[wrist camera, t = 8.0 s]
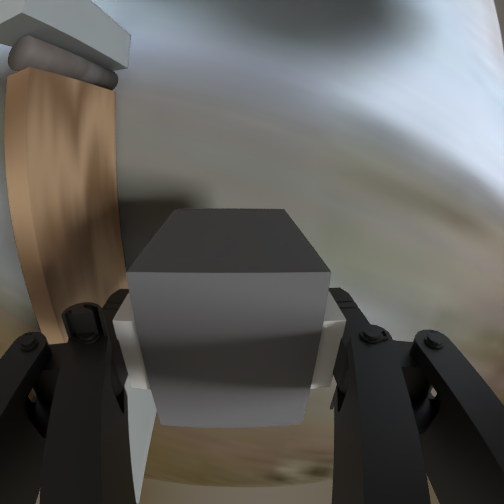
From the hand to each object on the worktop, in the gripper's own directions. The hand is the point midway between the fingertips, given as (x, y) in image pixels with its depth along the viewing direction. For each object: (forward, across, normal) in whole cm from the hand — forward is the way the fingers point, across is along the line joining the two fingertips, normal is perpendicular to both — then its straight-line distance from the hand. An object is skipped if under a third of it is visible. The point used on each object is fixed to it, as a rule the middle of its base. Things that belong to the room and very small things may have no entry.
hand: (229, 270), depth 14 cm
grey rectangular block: (0, 0, 0) cm, 0 cm away
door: (+5, -8, +3) cm, 10 cm away
